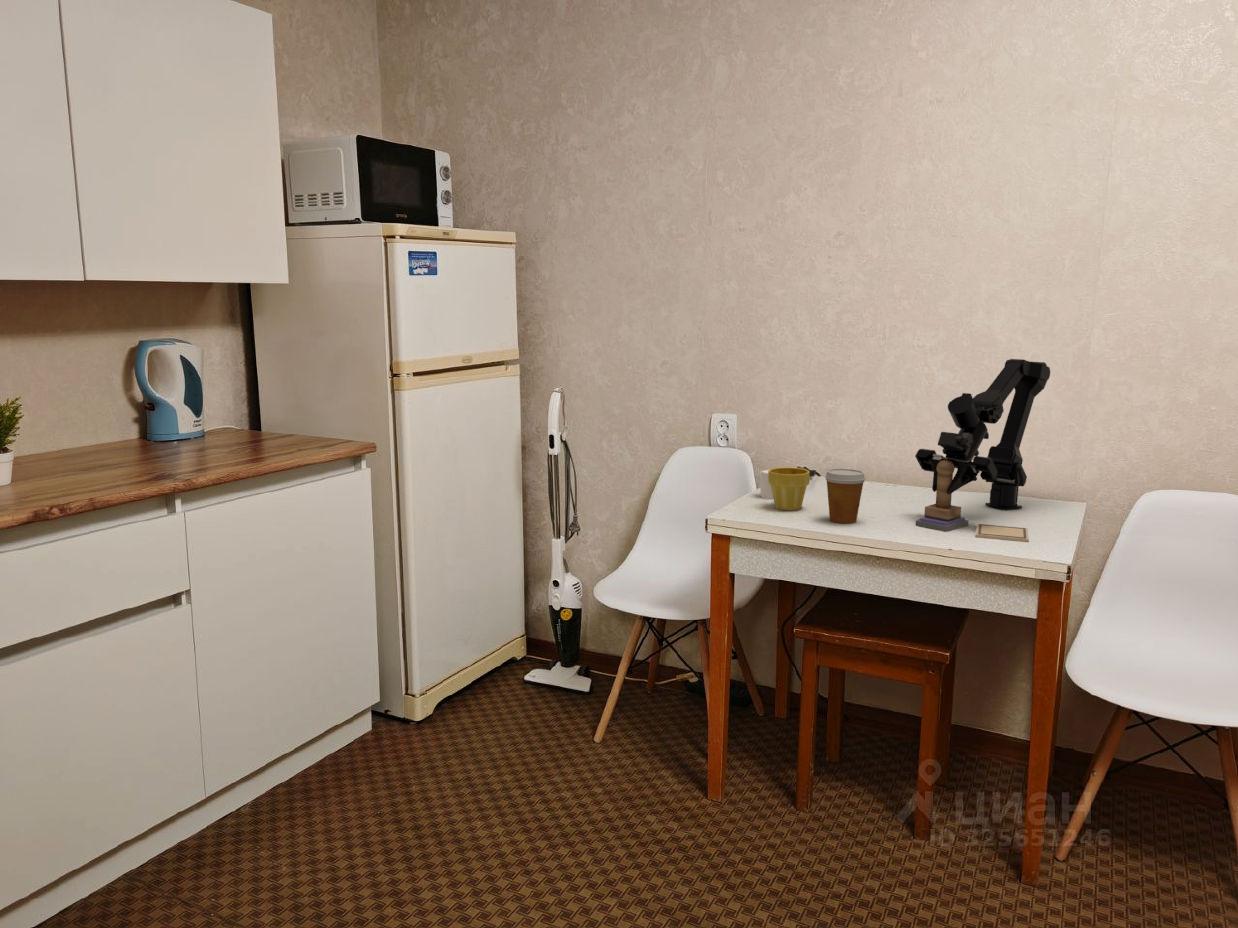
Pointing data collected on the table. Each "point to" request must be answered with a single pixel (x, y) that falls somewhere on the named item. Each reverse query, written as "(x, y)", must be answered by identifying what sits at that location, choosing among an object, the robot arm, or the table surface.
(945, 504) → the stamp
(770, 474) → the plant pot
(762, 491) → the white cube
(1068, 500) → the table surface
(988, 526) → the beige square tile
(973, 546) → the table surface
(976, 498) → the table surface
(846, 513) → the disposable coffee cup
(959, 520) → the ink pad
